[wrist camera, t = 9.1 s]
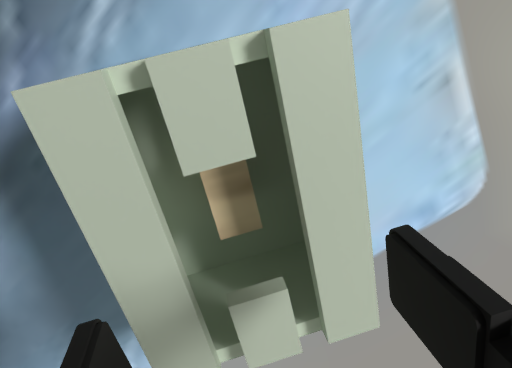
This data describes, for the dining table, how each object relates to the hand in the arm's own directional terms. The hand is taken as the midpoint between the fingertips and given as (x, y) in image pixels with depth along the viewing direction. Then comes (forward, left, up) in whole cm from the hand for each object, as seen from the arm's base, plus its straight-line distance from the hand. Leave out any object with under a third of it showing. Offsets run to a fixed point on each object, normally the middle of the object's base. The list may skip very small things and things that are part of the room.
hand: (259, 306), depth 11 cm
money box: (0, 0, -13) cm, 13 cm away
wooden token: (+2, 0, -10) cm, 11 cm away
